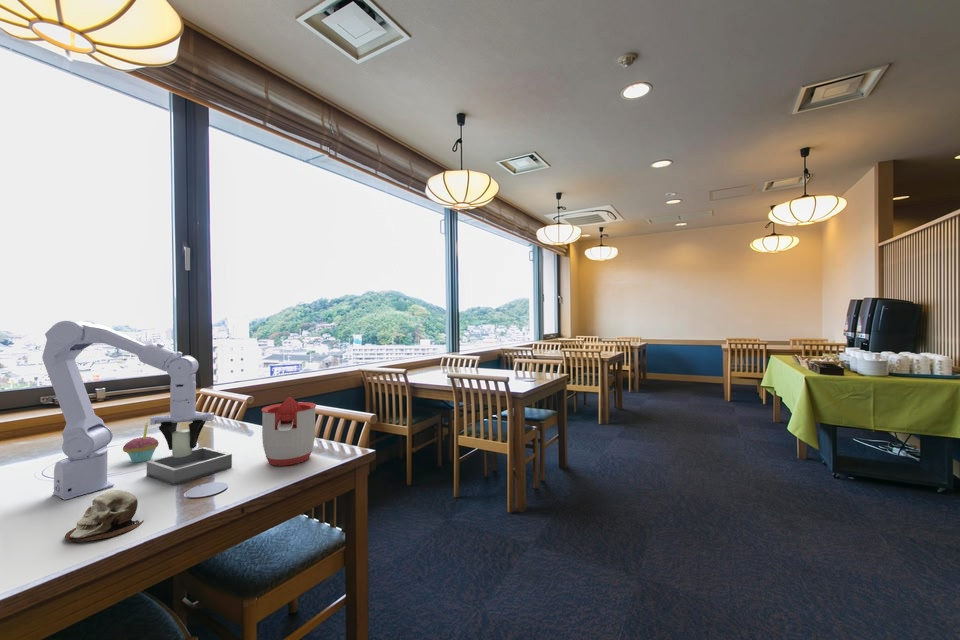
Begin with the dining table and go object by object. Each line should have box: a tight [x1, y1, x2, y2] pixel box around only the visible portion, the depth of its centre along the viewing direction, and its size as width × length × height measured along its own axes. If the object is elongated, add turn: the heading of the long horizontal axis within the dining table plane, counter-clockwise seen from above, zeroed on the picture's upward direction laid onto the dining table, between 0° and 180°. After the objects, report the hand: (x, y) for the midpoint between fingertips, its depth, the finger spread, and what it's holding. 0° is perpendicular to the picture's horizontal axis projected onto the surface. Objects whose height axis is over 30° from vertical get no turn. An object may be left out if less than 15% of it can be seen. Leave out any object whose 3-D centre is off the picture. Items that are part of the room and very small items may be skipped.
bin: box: [146, 446, 233, 486], centre depth 114 cm, size 15×15×4 cm
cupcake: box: [122, 422, 160, 463], centre depth 124 cm, size 9×8×12 cm
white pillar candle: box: [171, 428, 193, 458], centre depth 109 cm, size 4×4×6 cm
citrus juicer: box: [261, 396, 317, 467], centre depth 122 cm, size 16×17×20 cm
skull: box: [64, 489, 145, 543], centre depth 82 cm, size 12×10×10 cm
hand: (182, 448), depth 109 cm, fingers closed on white pillar candle, 4 cm apart
